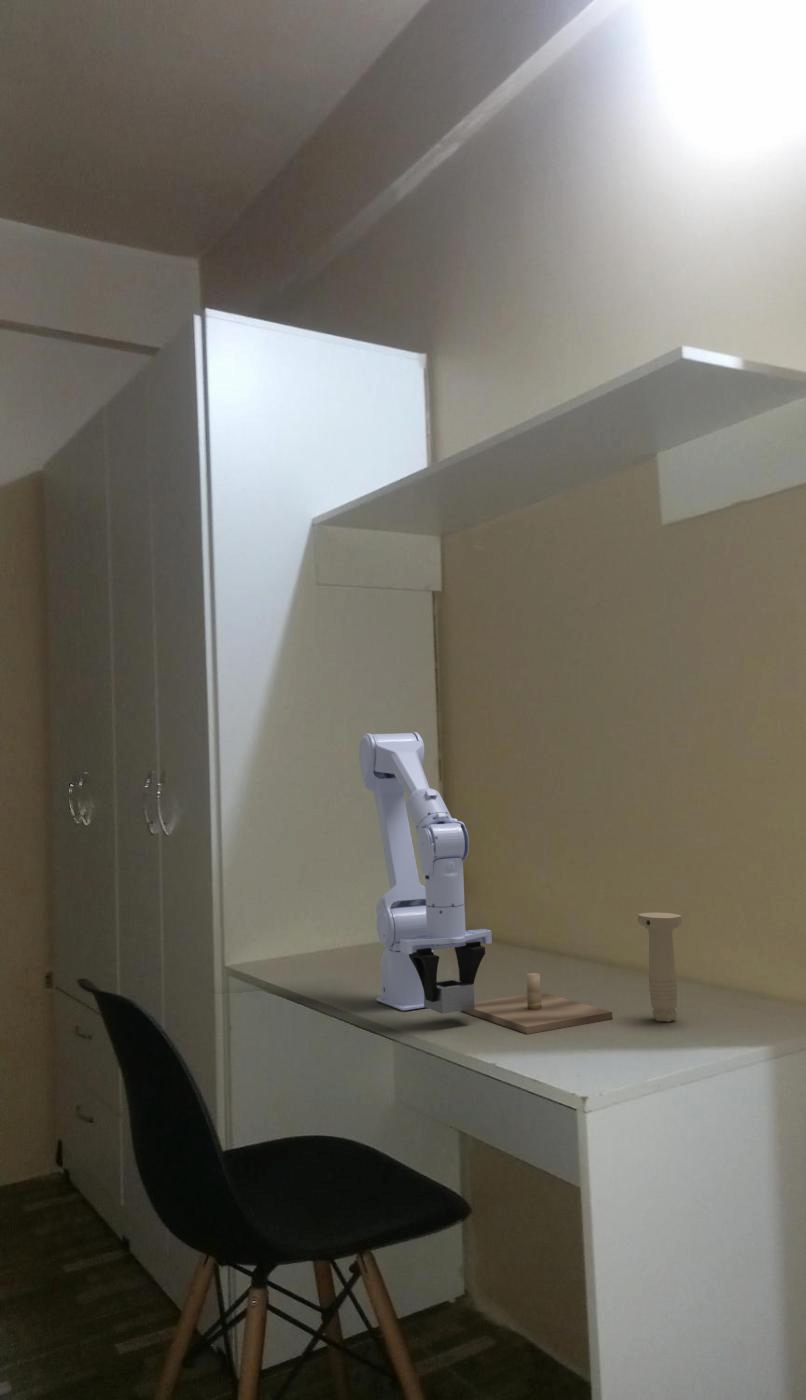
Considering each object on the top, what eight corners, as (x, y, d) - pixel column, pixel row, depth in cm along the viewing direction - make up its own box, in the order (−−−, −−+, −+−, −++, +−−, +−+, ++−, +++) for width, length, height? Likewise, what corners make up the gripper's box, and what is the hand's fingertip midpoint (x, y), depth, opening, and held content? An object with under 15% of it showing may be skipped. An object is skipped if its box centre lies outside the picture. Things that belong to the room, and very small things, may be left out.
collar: (424, 1006, 165) (423, 982, 165) (455, 1001, 168) (454, 978, 168) (442, 1013, 160) (441, 989, 161) (474, 1008, 163) (473, 984, 163)
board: (461, 1011, 172) (459, 971, 172) (541, 998, 179) (539, 960, 179) (527, 1034, 156) (525, 990, 156) (612, 1018, 163) (610, 977, 163)
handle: (659, 1013, 165) (654, 911, 166) (693, 1020, 160) (687, 915, 161) (636, 1018, 162) (631, 914, 163) (670, 1026, 157) (664, 919, 158)
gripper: (415, 912, 158) (418, 1009, 157) (501, 902, 165) (505, 995, 164) (392, 907, 164) (395, 1000, 164) (476, 898, 171) (479, 987, 170)
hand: (448, 997), depth 164 cm, fingers closed on collar, 5 cm apart
